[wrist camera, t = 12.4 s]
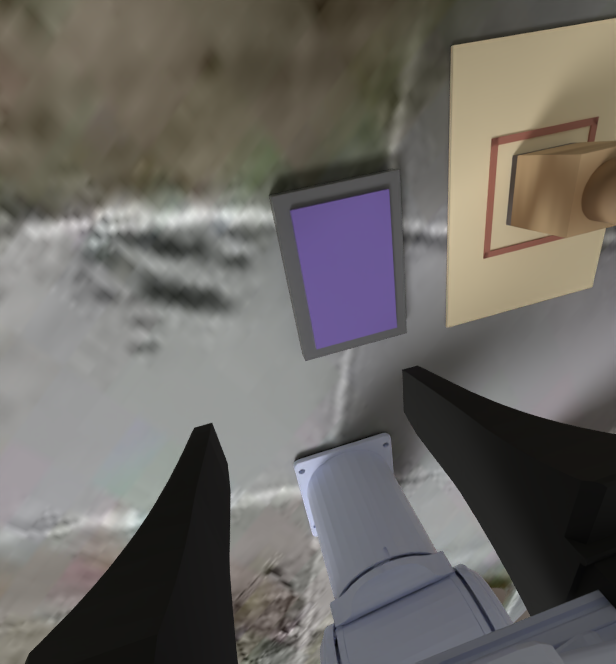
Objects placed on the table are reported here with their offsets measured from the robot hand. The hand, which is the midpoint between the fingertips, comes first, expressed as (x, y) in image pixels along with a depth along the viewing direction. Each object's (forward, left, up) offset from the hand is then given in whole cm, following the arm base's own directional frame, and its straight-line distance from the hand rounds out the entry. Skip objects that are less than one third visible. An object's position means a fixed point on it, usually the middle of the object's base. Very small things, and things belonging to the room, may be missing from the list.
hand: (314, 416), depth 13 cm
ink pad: (+2, -5, -10) cm, 11 cm away
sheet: (+4, -18, -10) cm, 21 cm away
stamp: (+4, -18, -10) cm, 20 cm away
